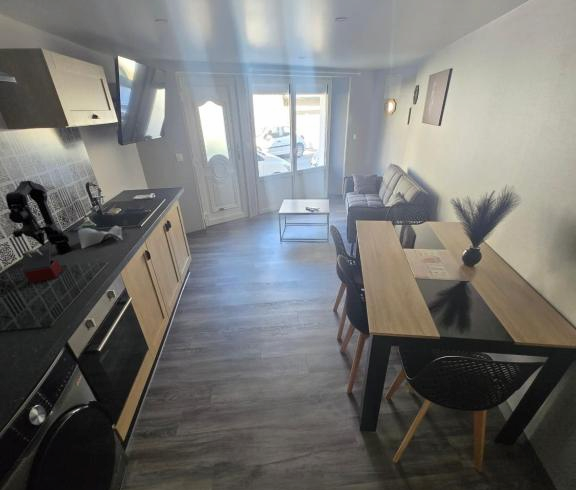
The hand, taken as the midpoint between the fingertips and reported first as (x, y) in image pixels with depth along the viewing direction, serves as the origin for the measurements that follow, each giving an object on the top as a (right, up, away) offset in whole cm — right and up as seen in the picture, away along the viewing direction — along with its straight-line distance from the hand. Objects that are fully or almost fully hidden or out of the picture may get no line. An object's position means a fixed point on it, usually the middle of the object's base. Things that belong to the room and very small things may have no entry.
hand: (43, 245), depth 165 cm
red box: (+5, -18, -4) cm, 19 cm away
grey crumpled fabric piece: (+13, +10, +35) cm, 39 cm away
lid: (+5, -10, -10) cm, 15 cm away
